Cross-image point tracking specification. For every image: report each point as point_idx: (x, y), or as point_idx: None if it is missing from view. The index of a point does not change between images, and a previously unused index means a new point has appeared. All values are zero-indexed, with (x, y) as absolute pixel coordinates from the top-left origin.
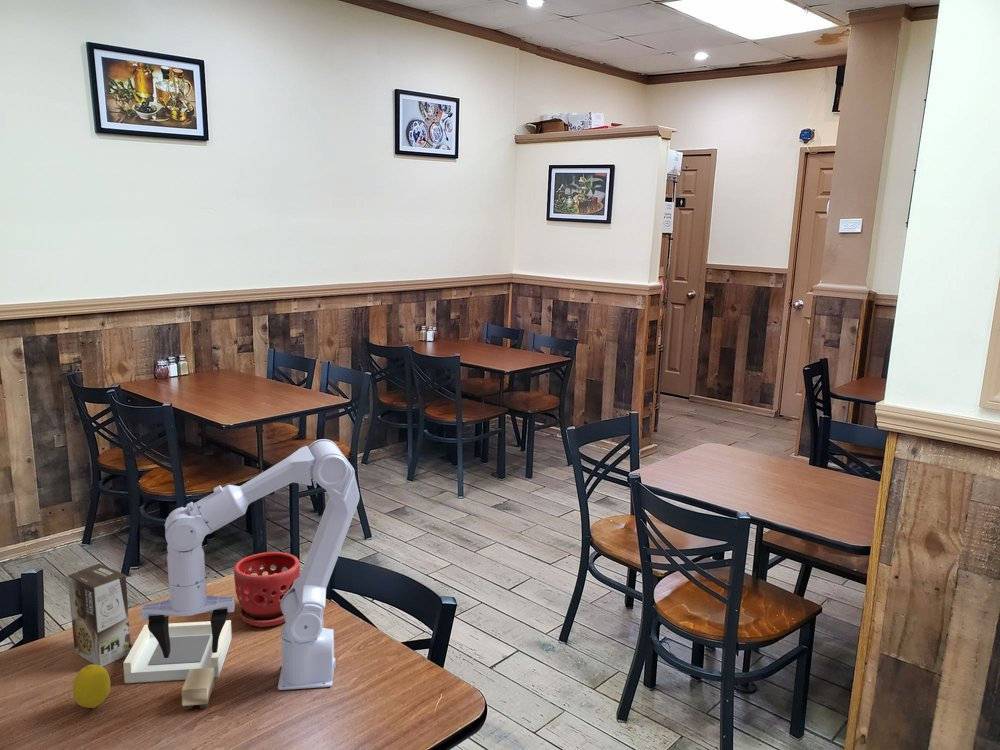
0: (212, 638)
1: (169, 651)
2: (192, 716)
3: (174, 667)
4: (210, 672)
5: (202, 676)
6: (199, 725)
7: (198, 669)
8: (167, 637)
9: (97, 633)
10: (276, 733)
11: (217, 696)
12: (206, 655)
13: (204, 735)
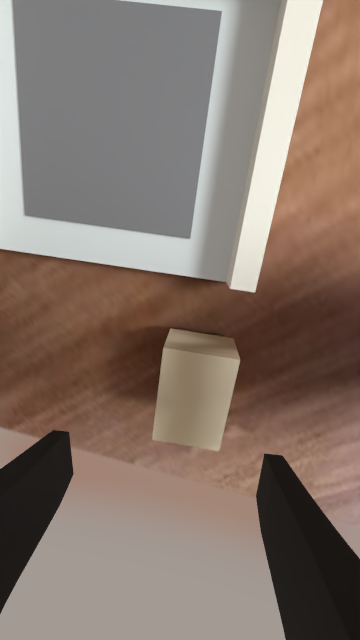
0: (284, 630)
1: (64, 460)
2: None
3: (111, 249)
4: (229, 382)
5: (205, 395)
6: None
7: (190, 357)
8: (3, 542)
9: None
10: (347, 505)
11: None
12: (208, 196)
13: (211, 472)
